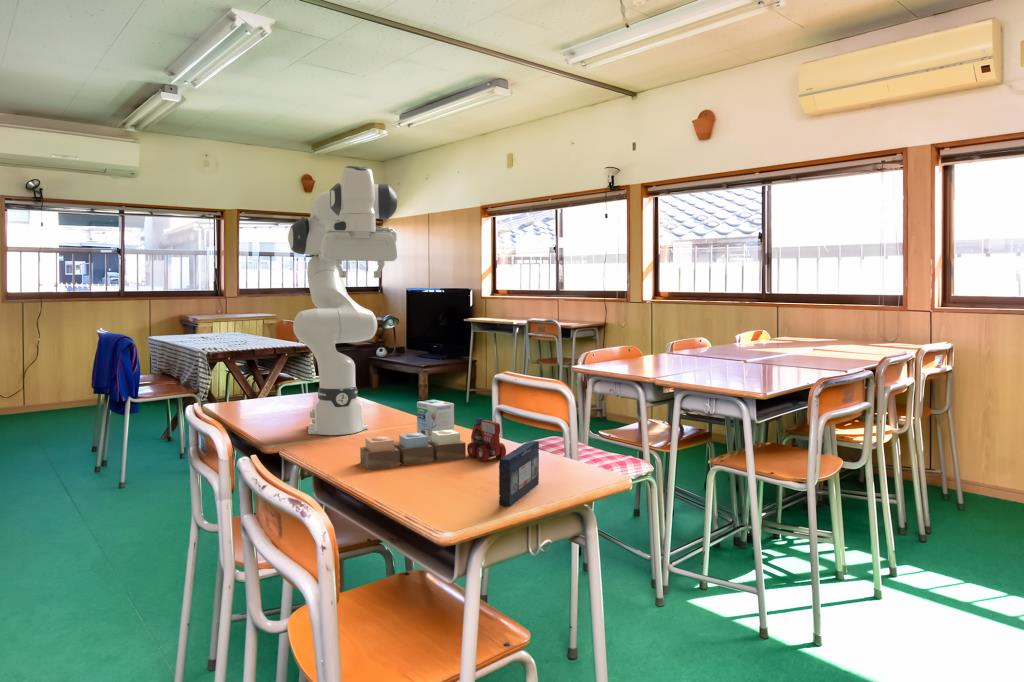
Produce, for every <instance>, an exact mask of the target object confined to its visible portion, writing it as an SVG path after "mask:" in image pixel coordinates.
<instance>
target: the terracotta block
mask: <svg viewBox="0 0 1024 682" xmlns="http://www.w3.org/2000/svg"><path fill="white" fill-rule="evenodd" d="M364 440H365V442H364V443H365V447H366V450H368V451H369V452H370V453H374V452H383V451H392V450H394V444H395V440H394V439H393V438H391V437H389V436H388V435H385V436H373V437H366V438H365V439H364Z"/></svg>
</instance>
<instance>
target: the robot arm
mask: <svg viewBox="0 0 1024 682" xmlns="http://www.w3.org/2000/svg"><path fill="white" fill-rule="evenodd" d="M397 207H398V197H397V193H396V191H395V190H394V188H392V186H391V185H389V184H388V183H378V184H376V183H375V179H374V175H373V170H372V169H371V168H369V167H367V166H357V165H356V166H354V165H346V166H345V167H343V169H342V177H341V180H340V182H338V183H336V184H334V185H332V187H331V188H330V190H327V191H324V192H322V193H320V194H319V195H318V196H316V198H314V199H313V201H312V203H311V206H310V216H309V217H307V218H305V216H301V217H300V219H299V220H297V221H295V222H294V223H293V224H292V225H291V226H290V228H289V231H288V233H287V241H288V242H287V243H288V244H289V247H290V250H291V251H292V252H293V253H295V254H297V255H310V256H311V255H312V257H310V259H309V261H308V263H307V272H306V273H307V283H308V288H309V293H310V297H311V302H312V303H313V305H314V306H315V308H310V309H305V310H301V311H299V312H298V313H297V314H296V315H295V318H294V320H293V323H292V328H293V333H294V336H295V337H296V338H297V340H298V341H300V342H301V343H303V344H304V345H305V346H306V347H307V348H308V349H309V350H310V351H311V352H312V354H313V355H314V357H315V360H316V363H317V370H318V379H319V382H318V384H319V387H318V389H317V399H318V401H317V402H316V405H315V406H314V409H311V410H309V418H310V419H311V422H308V429H307V434H308V435H322V436H342V435H343V436H344V435H351V434H355V433H356V434H357V433H359V432H361V431H363V430H367V429H369V425H368V424H365V423H364V414H363V404H362V402H360V401H359V399H357V398H358V387H357V386H356V363H355V362H354V361H355V360H353V359H352V358H351V357H349V356H348V355H347V354H344V353H341V352H339V351H338V350H337V348H336V344H342V343H343V344H344V343H346V344H348V343H360V342H364V341H369V340H371V339H373V338H374V337H375V334H376V333H377V330H378V319H377V318H376V315H375V313H374V312H373V311H372V310H371V309H368V308H366V307H364V306H362V305H360V304H359V303H357V302H356V301H355V300H354V299H352V297H351V296H350V295H349V293H348V291H347V288H346V285H345V282H344V278H347V271H346V270H344V269H343V268H342V266H341V265H342V264H343V263H342V262H344V261H350V262H351V261H352V262H353V261H354V262H355V261H359V262H360V261H361V262H362V261H363V262H365V261H366V262H376V263H377V266H378V268H377V270H375V271H373V278H374V279H378V278H379V279H380V278H381V277H382V276H381V275H382V274H381V272H382V270H383V268H384V267H385V262H394V261H396V260H397V259H398V250H397V249H398V248H397V244H396V243H397V232H396V231H395V230H394V229H393V228H392V227H382V226H380V227H379V226H377V225H376V223H377V222H376V221H377V220H376V219H379V220H386V221H387V220H388V219H390V218H392V216H394V214H395V213H396V211H397Z"/></svg>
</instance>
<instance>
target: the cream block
mask: <svg viewBox="0 0 1024 682" xmlns="http://www.w3.org/2000/svg"><path fill="white" fill-rule="evenodd" d="M460 440H461V433H460V432H458V431H456V430H455V429H454V430H452V429H451V430H441V431H432V442H434V443H436V444H437V445H446V444H454V443H460Z"/></svg>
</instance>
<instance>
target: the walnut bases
mask: <svg viewBox="0 0 1024 682" xmlns="http://www.w3.org/2000/svg"><path fill="white" fill-rule="evenodd" d="M466 446H467V445H466V442H464V441H462V440H461V439H460V443H454V444H446V445H437V444H436V443H434V442H432V440H429V439H428V447H419V448H410V449H405V448H403V447H402V446H400V445H399V442H398V443H394V450H392V451H383V452H374V453H370V452H369V451H368V450H366V446H363V447H361V446H360V447H359V448H360V449H359V450H360V451H359V453H360V463H361V465H363V466H364V468H366V469H367V470H368V471H370V470H379V469H386V468H394V467H401V465H402V466H411V465H419V464H428V463H433V462H434V461H436V462H442V461H450V460H451V461H452V460H459V459H466V458H467V455H466V454H467V453H466V451H467V448H466Z"/></svg>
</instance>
